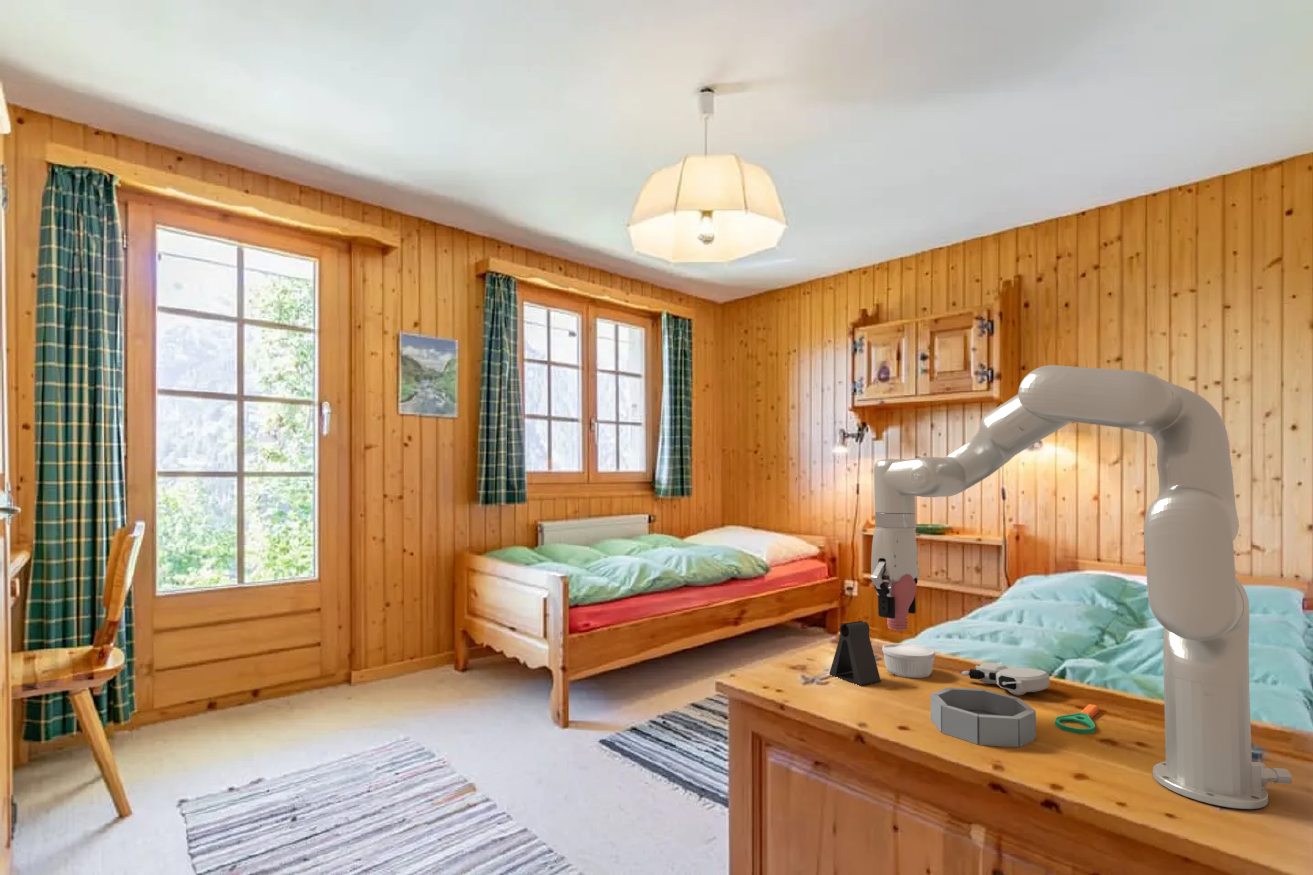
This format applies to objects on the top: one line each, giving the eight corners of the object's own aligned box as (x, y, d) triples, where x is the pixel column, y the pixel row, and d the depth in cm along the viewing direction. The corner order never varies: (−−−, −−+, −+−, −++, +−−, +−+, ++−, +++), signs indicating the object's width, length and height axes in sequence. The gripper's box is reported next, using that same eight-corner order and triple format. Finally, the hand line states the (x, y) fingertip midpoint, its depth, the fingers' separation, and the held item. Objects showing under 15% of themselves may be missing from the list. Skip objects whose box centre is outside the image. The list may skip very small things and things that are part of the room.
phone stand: (829, 675, 146) (829, 619, 147) (848, 671, 149) (848, 617, 150) (861, 686, 139) (860, 628, 139) (880, 682, 142) (880, 625, 142)
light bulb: (905, 637, 124) (904, 572, 125) (871, 631, 129) (870, 568, 130) (924, 631, 129) (922, 569, 129) (890, 626, 134) (889, 565, 135)
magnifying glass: (1089, 739, 113) (1089, 729, 113) (1049, 729, 118) (1049, 719, 118) (1112, 717, 124) (1112, 708, 124) (1075, 709, 128) (1075, 700, 128)
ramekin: (897, 662, 157) (897, 640, 158) (944, 673, 149) (944, 649, 149) (872, 671, 150) (872, 647, 150) (921, 683, 142) (920, 658, 142)
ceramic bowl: (1009, 715, 123) (1009, 690, 123) (1049, 748, 108) (1048, 720, 108) (923, 710, 125) (923, 685, 125) (949, 742, 110) (949, 715, 110)
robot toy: (958, 686, 143) (1024, 702, 130) (956, 664, 144) (1022, 678, 130) (994, 679, 149) (1062, 693, 136) (993, 658, 149) (1060, 670, 136)
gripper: (900, 520, 139) (902, 606, 138) (853, 523, 128) (854, 617, 126) (935, 521, 133) (937, 612, 132) (888, 524, 122) (891, 623, 121)
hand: (897, 614), depth 129 cm, fingers closed on light bulb, 6 cm apart
